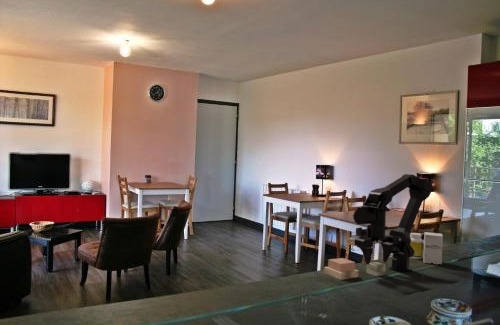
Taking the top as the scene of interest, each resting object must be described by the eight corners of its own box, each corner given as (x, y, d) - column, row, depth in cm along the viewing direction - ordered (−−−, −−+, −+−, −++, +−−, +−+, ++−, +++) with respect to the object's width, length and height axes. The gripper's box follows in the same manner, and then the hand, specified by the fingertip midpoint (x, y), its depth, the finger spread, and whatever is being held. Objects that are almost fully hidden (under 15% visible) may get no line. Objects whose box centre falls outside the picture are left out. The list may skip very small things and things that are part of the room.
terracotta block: (342, 265, 163) (342, 257, 163) (354, 270, 156) (355, 262, 156) (328, 267, 159) (328, 259, 159) (340, 272, 153) (340, 263, 153)
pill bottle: (423, 259, 187) (424, 235, 187) (409, 258, 188) (410, 234, 188) (420, 256, 193) (421, 233, 193) (406, 255, 194) (407, 232, 194)
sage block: (375, 271, 165) (375, 261, 165) (385, 275, 161) (385, 264, 160) (366, 273, 162) (366, 262, 162) (375, 276, 158) (376, 266, 158)
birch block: (341, 272, 164) (342, 264, 164) (358, 278, 156) (358, 270, 156) (324, 274, 160) (324, 267, 159) (340, 281, 152) (340, 273, 152)
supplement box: (423, 263, 181) (424, 234, 181) (423, 259, 188) (424, 231, 188) (441, 265, 178) (443, 235, 178) (441, 261, 185) (442, 233, 185)
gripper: (378, 218, 173) (377, 256, 173) (345, 221, 164) (343, 260, 164) (400, 223, 163) (399, 262, 163) (366, 225, 154) (364, 267, 154)
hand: (376, 263), depth 161 cm, fingers open, 9 cm apart
